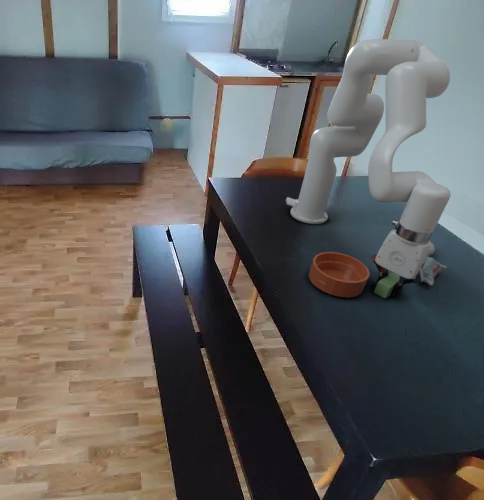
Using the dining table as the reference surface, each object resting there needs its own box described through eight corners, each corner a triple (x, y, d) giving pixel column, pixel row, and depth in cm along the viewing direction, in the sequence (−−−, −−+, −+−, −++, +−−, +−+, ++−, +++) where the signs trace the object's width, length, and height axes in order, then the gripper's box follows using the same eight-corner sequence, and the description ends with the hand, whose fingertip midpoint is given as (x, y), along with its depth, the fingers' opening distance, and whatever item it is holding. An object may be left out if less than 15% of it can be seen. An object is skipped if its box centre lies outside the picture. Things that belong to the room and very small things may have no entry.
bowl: (300, 284, 112) (305, 267, 109) (318, 261, 121) (323, 246, 118) (354, 306, 104) (361, 289, 101) (368, 281, 114) (375, 265, 111)
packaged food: (443, 274, 118) (450, 260, 115) (428, 290, 111) (436, 276, 108) (410, 261, 123) (417, 247, 120) (395, 276, 116) (401, 262, 114)
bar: (385, 298, 108) (389, 288, 106) (373, 292, 110) (378, 281, 108) (399, 288, 112) (404, 277, 110) (388, 282, 114) (393, 271, 112)
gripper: (373, 222, 104) (351, 279, 114) (442, 252, 93) (411, 312, 103) (388, 214, 108) (365, 270, 118) (456, 242, 97) (424, 301, 107)
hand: (387, 289), depth 110 cm, fingers closed on bar, 3 cm apart
